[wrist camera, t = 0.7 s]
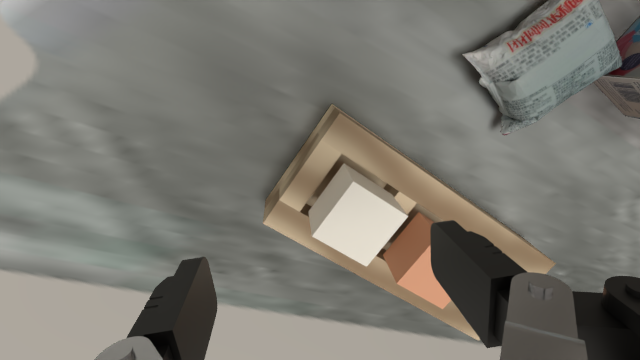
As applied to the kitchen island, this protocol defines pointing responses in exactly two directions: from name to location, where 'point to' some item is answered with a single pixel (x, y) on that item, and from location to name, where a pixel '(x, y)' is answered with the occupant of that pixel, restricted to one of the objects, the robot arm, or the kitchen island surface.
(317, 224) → the white square block
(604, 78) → the juice carton
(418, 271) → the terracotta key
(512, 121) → the packaged food
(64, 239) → the kitchen island surface
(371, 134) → the light brown rectangular frame
